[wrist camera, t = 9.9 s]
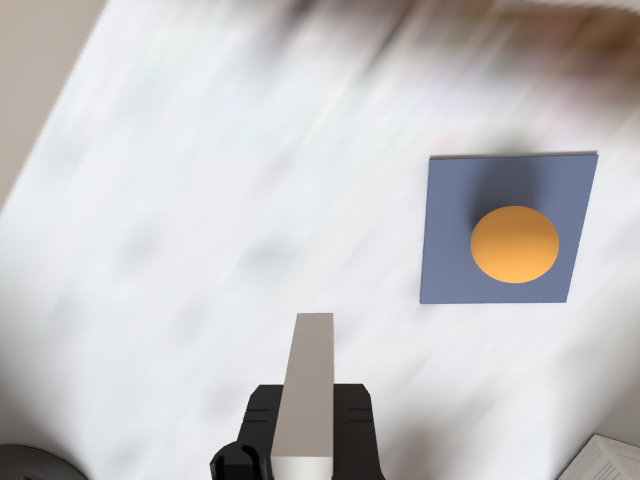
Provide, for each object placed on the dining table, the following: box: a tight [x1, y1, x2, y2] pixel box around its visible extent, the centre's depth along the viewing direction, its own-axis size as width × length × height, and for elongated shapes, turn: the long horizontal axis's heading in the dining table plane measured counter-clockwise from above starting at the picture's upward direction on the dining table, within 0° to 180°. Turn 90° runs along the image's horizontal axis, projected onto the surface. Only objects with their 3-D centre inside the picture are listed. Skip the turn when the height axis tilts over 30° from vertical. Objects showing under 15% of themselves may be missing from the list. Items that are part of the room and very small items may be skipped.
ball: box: [470, 206, 559, 283], centre depth 25 cm, size 6×6×6 cm
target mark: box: [420, 155, 599, 304], centre depth 27 cm, size 12×12×1 cm
